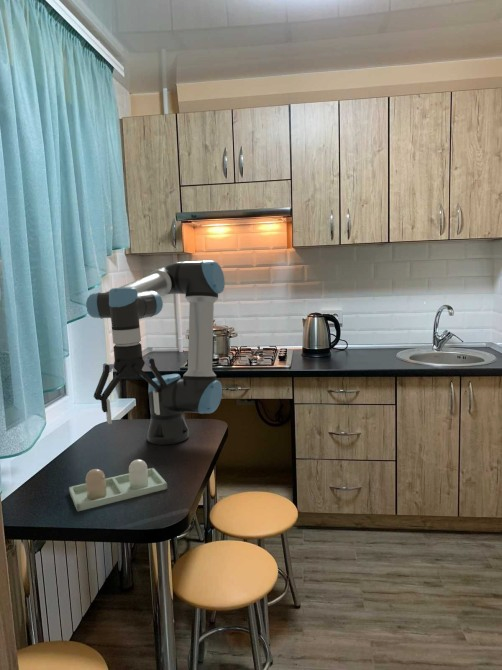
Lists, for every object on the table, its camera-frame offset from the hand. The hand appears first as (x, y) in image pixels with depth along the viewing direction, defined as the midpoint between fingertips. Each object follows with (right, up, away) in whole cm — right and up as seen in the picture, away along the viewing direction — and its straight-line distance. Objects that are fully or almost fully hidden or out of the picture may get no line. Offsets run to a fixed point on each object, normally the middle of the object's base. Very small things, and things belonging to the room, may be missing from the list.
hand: (133, 418), depth 145 cm
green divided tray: (-4, -21, 0) cm, 22 cm away
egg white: (+1, -20, +3) cm, 20 cm away
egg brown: (-10, -21, -3) cm, 23 cm away
